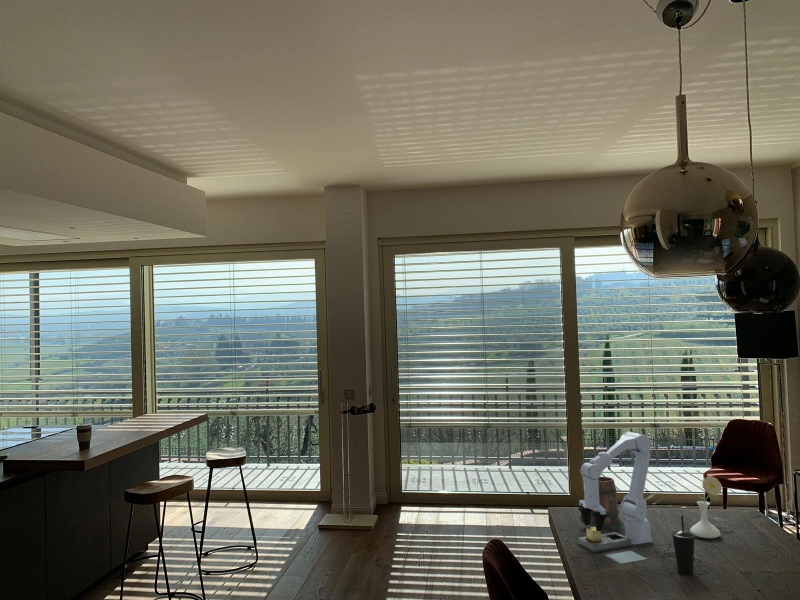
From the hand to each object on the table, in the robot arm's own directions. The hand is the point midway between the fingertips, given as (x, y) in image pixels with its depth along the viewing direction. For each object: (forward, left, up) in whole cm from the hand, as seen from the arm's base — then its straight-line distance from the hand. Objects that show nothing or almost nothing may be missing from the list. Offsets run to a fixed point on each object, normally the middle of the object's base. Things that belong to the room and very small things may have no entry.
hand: (593, 527), depth 234 cm
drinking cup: (-14, +33, -8) cm, 37 cm away
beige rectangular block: (0, 0, -7) cm, 7 cm away
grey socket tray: (-5, 0, -8) cm, 9 cm away
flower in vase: (-51, +7, -8) cm, 52 cm away
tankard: (-20, -23, -8) cm, 32 cm away
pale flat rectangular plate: (-4, +14, -8) cm, 17 cm away
